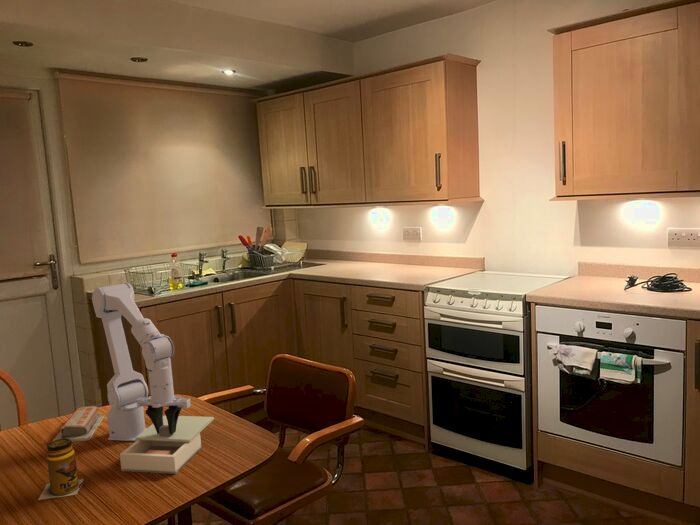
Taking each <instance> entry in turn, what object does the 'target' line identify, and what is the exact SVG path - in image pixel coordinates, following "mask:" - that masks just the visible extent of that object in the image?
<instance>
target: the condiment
mask: <svg viewBox="0 0 700 525" xmlns="http://www.w3.org/2000/svg"><path fill="white" fill-rule="evenodd" d="M53 440H54V439H53ZM53 440H52V441H51V442H49V443H48V444H47V445H46V449H47V452H46V453H47V456H46V462H47V463H46V464H47V470H48V478H49V483H46V485H45V487H44V489H43V491H42V492H41V494H40V496H39V497H38V499H37V501H41V500H47V499H48V500H49V499H53V498H56V499H57V498H62V497H68V496H75V495H78V492H79V491H80V489H81V486H82V484H83V481H84V478H81V479H79V474H78V467H77V460H76V459H77V458H76V451H75V449H74V448H73V447H74V446H73V442H72V441H71V440H70V439H68V438H61V439H57V440H54V441H53ZM81 483H82V484H81ZM79 484H81V486H80V488H79Z"/></svg>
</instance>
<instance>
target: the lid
mask: <svg viewBox="0 0 700 525" xmlns="http://www.w3.org/2000/svg"><path fill="white" fill-rule="evenodd" d="M214 420H215V417H214V416H193V415H179V416H178V420H177V425H176V432H174V433H173V434H170V433H169V428H168V421H167V418H166V415H165V414H163V425H162V426H161V427H160V428H159V434H157V432H156V429H155V427H154V424H153V423H152V424H150V426H148V427H146V428H147V429H146V430H144V431H143V432H142V433H140V434H139V435H138V436H137V437H135V439H136V440H156V441H179V442H190V441H191V440H192V439H193V438H195V437H196V436H197V435H198V434H199V433H200V434H201V432H202V431H203V430H204V429H205V428H206V427H207V426H209V424H210V423H212V422H213V421H214Z"/></svg>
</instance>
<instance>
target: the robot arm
mask: <svg viewBox="0 0 700 525" xmlns="http://www.w3.org/2000/svg"><path fill="white" fill-rule="evenodd" d="M135 298H136V297H135V290H134V288H133V286H132V285H131V284H130V283H129V282H124V283H120V284H119V283H118V284H114V285H113V284H112V285H107V286H102V287H99V286H98V287H94V289H93V291H92V294H91V302H92V305H93V309H94V313H95V316H96V318H98V319H99V318H100V319H101V321H102V324H103V329H104V334H105V338H106V342H107V346H108V351H109V355H110V358H111V364H112V368H113V372H114V375H113V376H112V378H111V379H110V380H109V381H108V382H107V384H106V388H107V401H108V404H109V405H110V408H109V410H108V413H107V427H108V435H109V437H108V438H107V440H109V441H124V442H125V441H127V442H128V441H129V442H136V441H137V440H136V439H135V437H137V436H138V435H139V434H140V433H142V432H143V431H144V430H146V429H147V428H148V427H146V422H145V421H146V420H145V414H146V416H148V418H149V419H150V421H151V422H152V424H154V427H155V429H156V432H157V434H159V428H160V427H161V426H162V425H163V416H164V415H166V418H167V421H168V428H169V433H170V434H173V433H174V432H176V425H177V420H178V416H180V413H181V411H182V408H183V409H189V408H190V407H191V398H186V397H182V396H175V391H174V390H175V389H174V380H173V370H172V360H171V358H173V356H174V355H175V346H174V343H173V340H172V339H171V337H170V336H168V335H165V334H164V333H160V331H159V330H158V328H157V327H156V326H155V324H154V323H153V321H152V320H151V319H150V318H144V316H143V314H142V312H141V311H140V309H139V307H138V305H137V304H136V302H135ZM122 316H123V317H124V318H125V319H126V321H127V322H128V323H129V324H130V325H131V328H130V332H131V334H132V335H133V337H134V338H135V340H136V341H137V343H138V344H139V345H140V347H141V355H142V357H143V359H144V363H145V367H146V369H147V370H148V377H149V388H150V389H149V388H148V385H147V383H146V381H145V378H144V375H143V374H142V373H140V372H137V371H135V370H134V368H133V364H132V363H133V362H132V359H131V357H130V356H131V354H130V352H129V347H128V343H127V340H126V339H127V338H126V334H125V330H124V327H123V322H122V321H123V320H122ZM149 390H150V396H149ZM144 407H147V409H146V410H145V409H144ZM164 408H167V409H166V410H164ZM144 410H145V411H144ZM144 412H145V413H144ZM163 413H164V414H163Z"/></svg>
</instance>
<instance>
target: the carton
mask: <svg viewBox="0 0 700 525" xmlns="http://www.w3.org/2000/svg"><path fill="white" fill-rule="evenodd" d="M201 449H202V440H201V432H200V433H199V434H198V435H197V436H196V437H195V438H193V439H192V440H191V441H190V442H179V441H156V440H137V441H134V442H133V443H132V444H131V445H129V446H128V447H127V448H126V449H124V450H123V451H122V452H120V454H119V460H120V468H121V471H122V472H130V471H131V472H132V473H133V472H134V473H135V472H136V473H148V472H150V473H149V474H152V473H153V474H165V475H166V474H168V475H169V474H170V475H177V473H178V472H180V470H182V469H183V468H184V467H185V466H186V464H188V462H189V461H191V459H192V458H193V457H195V456H196V454H197V453H198V452H200V450H201Z"/></svg>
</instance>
